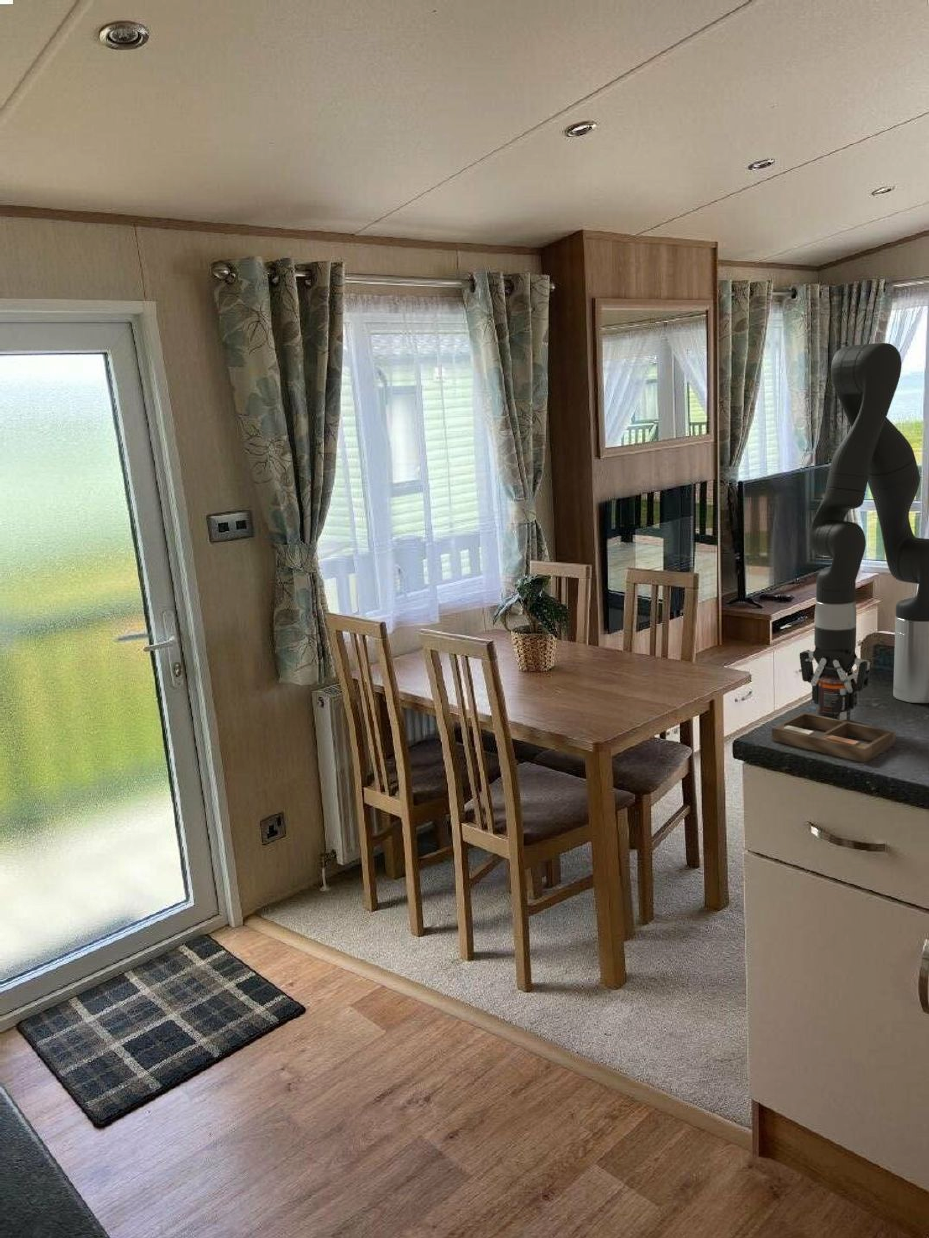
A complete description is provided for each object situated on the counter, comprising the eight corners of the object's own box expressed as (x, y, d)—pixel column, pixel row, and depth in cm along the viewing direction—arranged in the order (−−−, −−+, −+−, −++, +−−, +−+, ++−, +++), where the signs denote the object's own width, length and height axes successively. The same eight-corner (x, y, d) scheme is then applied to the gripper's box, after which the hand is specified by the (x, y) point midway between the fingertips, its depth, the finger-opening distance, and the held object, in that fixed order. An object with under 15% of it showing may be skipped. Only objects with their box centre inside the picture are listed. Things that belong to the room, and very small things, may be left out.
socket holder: (894, 744, 173) (894, 729, 172) (864, 762, 166) (864, 747, 165) (803, 724, 187) (803, 710, 186) (771, 740, 179) (771, 726, 179)
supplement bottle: (853, 726, 184) (854, 670, 181) (820, 726, 185) (821, 670, 182) (847, 716, 189) (848, 661, 187) (815, 716, 191) (816, 662, 188)
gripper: (881, 624, 180) (879, 708, 183) (810, 615, 190) (810, 695, 194) (861, 632, 175) (860, 718, 179) (790, 622, 186) (790, 704, 189)
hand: (834, 706), depth 186 cm, fingers closed on supplement bottle, 6 cm apart
